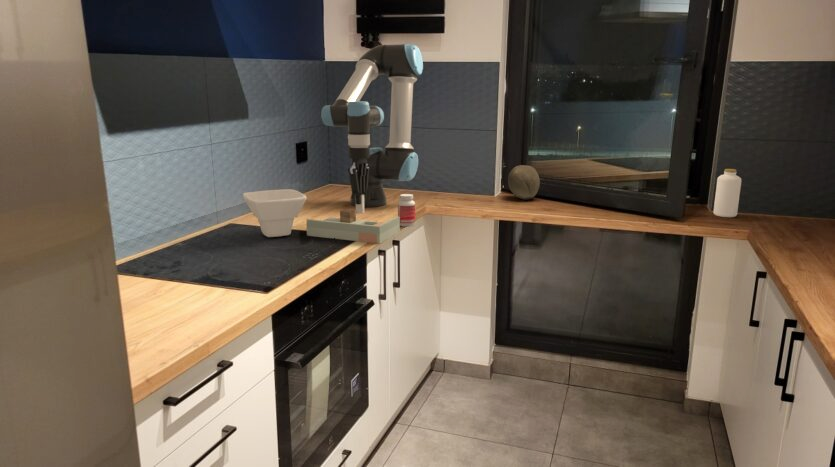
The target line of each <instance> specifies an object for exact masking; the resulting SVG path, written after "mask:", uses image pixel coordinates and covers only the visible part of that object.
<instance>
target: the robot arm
mask: <svg viewBox="0 0 835 467" xmlns="http://www.w3.org/2000/svg"><path fill="white" fill-rule="evenodd" d="M423 62H424V60H423V55H422V53H421V50H420V48H419V47H418V46H417V45H415V44H408V43H407V44H404V43H403V44H380V45H377V46H374V47H373V48H371V49H369V50H367V51H366V52H365V53H364V54H363V55H362V56H361V57H360V58H359V59H358V60H357V62H356V64H355V70H354V71H353V72H352V75H351V77H350V78H349V80H348V81H347V83H345V86H344V87H343V89H342V90H341V92H340V94H338V96H337V97H336V100H335V101H334V103H333V104H332V105H331V104H329V105H327V104H326V105H324V106H323V107H322V108H321V114H320V116H321V117H320V118H321V120H322V123H323V124H324V125H325V126H327V127H328V126H329V127H343V128H344V127H347V139H348V140H347V141H348V143H347V145H348V146H349V147H348V149H347V150H348V154H347V155H348V158H350V159H351V167H348V168H347V172H348V174H349V181H350V188H351V196H350V198H349V200H350V205H351V206H354V207H355V210H356V214H364V213H366V212H365V208H369V207H370V208H371V207H372V208H373V207H380V206H384V205H386V204H387V196H386V194H385V190H384V186H383V181H394V182H395V181H396V182H410V181H412V180H413V179H414V178H415V176H416V173H417V171H418V167H419V156H418V154H417V153H416V152H415V148H414V146H413V145H412V144H411V138H412V119H413V118H412V115H413V100H414V99H413V95H414V83H416V82H417V81H418V76H421V75H422V73H423V70H424V63H423ZM382 75H383V76H387V77H388V80H389V82H390V83H391V97H390V98H391V99H390V123H389V143H387V145H386V146H385V149H384V151H383V148H382V147H370V145H371V139H370V138H371V137H370V136H371V134H370V130H371V129H370V128H375V127H379V126H380V125H382V124H383V121H384V119H385V113H384V111H383V109H382V108H381V107H379V106H377V105H370V103H369V102H368V101H363V100H362V101H361V99H362V97H364V94H365V93H366V91H367V89H368V88H369V86H370V84H371V82H372V81H375V80H376V79H377V78H378V76H382Z"/></svg>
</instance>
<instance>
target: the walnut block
mask: <svg viewBox="0 0 835 467" xmlns="http://www.w3.org/2000/svg"><path fill="white" fill-rule="evenodd" d="M339 218H340V222H343V223H352V222H355V221H356V220H357V213H356V209H351V208H344V209H341V210H340V211H339Z"/></svg>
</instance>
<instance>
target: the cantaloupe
mask: <svg viewBox="0 0 835 467" xmlns="http://www.w3.org/2000/svg"><path fill="white" fill-rule="evenodd" d="M540 184H541V180H540V176H539V173H538V171H537V170H536V168H534V166H532V165H523V164H520V165H516V166H515V167H513V168H512V169H511V171H510V172H509V174H508V179H507V186H508V188H509V191H511V193H512V194H513V195H514V196H515V197H517V198H519V199H520V200H523V201H529V200H530V199H532V198H534V197H535V196H536V195H537V193H538V191H539V189H540Z"/></svg>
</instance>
